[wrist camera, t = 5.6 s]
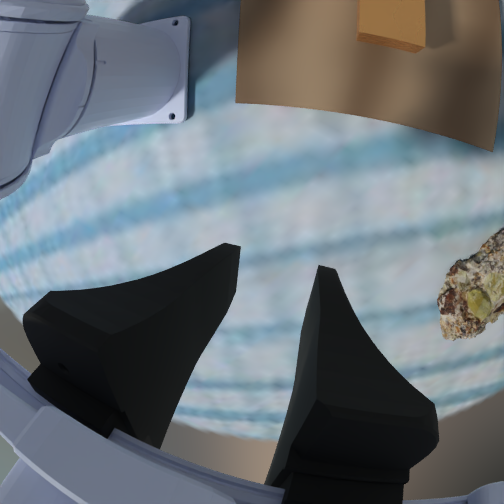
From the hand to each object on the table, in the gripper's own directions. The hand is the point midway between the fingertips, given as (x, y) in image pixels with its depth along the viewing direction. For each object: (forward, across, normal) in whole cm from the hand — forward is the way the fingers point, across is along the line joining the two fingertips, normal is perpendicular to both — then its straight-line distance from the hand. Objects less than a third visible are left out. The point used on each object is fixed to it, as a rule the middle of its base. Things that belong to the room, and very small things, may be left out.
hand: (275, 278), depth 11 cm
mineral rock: (+11, -16, +3) cm, 20 cm away
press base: (+10, -2, -18) cm, 20 cm away
